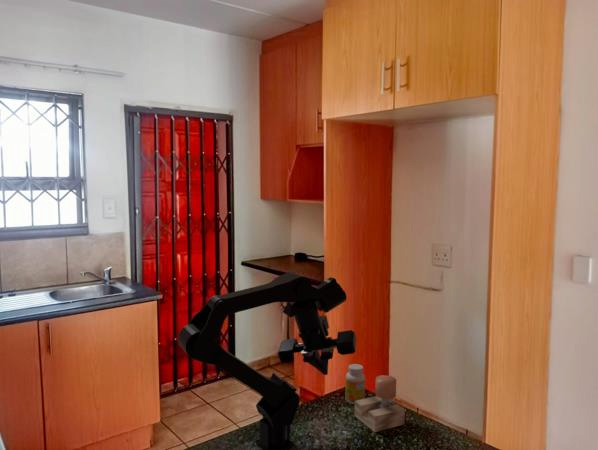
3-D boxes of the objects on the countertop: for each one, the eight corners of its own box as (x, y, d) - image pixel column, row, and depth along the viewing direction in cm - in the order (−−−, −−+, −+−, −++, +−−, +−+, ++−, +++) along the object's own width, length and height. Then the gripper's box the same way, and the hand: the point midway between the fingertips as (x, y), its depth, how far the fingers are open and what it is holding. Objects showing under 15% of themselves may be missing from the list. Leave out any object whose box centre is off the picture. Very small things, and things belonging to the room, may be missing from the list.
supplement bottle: (341, 398, 131) (342, 364, 131) (357, 394, 134) (358, 361, 133) (351, 406, 127) (352, 371, 126) (368, 402, 129) (369, 368, 128)
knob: (382, 419, 116) (383, 385, 116) (370, 410, 121) (371, 377, 120) (399, 414, 119) (400, 381, 118) (387, 406, 123) (388, 374, 123)
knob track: (374, 432, 113) (375, 416, 113) (354, 415, 121) (354, 400, 121) (404, 424, 117) (404, 409, 117) (382, 408, 125) (383, 394, 125)
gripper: (349, 297, 115) (364, 347, 120) (278, 308, 119) (295, 357, 125) (346, 323, 104) (362, 378, 110) (269, 335, 109) (288, 386, 115)
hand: (326, 373), depth 115 cm, fingers closed
